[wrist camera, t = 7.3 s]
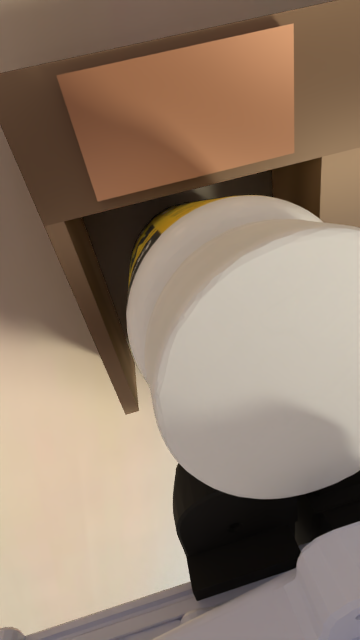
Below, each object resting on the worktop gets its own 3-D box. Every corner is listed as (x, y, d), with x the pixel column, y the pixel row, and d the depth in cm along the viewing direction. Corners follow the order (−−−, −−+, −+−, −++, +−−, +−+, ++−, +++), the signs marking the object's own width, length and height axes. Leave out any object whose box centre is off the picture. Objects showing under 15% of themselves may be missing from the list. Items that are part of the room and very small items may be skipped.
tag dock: (459, 270, 15) (545, 298, 12) (123, 365, 14) (126, 423, 11) (544, -16, 10) (733, -92, 7) (20, 101, 9) (-29, 72, 6)
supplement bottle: (123, 205, 10) (92, 181, 3) (252, 200, 11) (539, 170, 3) (135, 331, 12) (138, 546, 4) (246, 321, 13) (428, 495, 5)
